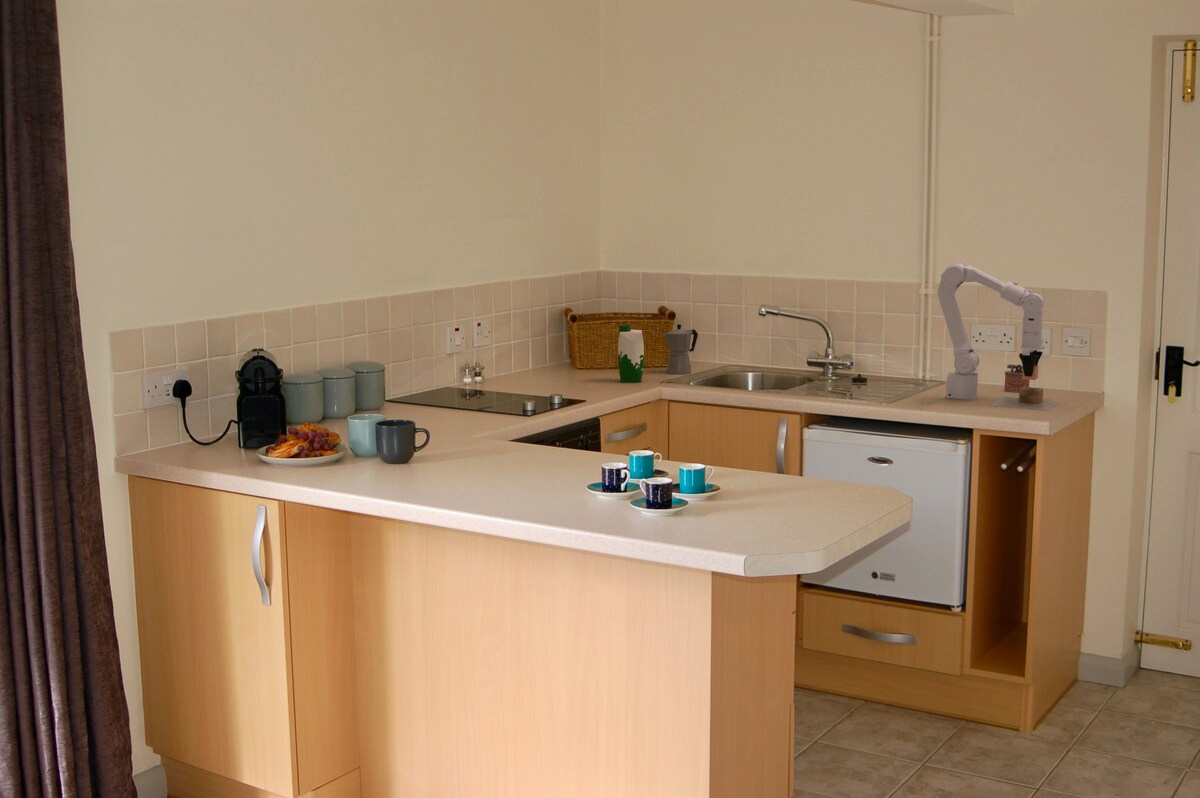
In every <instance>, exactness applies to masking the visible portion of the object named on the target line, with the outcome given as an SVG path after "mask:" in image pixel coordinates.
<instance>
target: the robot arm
mask: <svg viewBox="0 0 1200 798" xmlns="http://www.w3.org/2000/svg"><path fill="white" fill-rule="evenodd" d="M975 282H976V283H978V284H981V285H983V286H985V287H987V288H988V289H989V288H990V289H991V290H994V291H997V292H998V293H999V296H1000V298H1001V299H1003V300H1005V301H1006V302H1009V303H1011V304H1013V305H1015V306H1018V307H1021V308H1022V309H1023V317H1022V330H1021V331H1022V332H1021V333H1022V334H1021V346H1020V349H1021V350H1022V352H1020V353H1019V354H1018V356H1019V359H1020V361H1021V366H1023V369H1022V370H1024V375H1025V376H1029V377H1032V374H1033V370H1034V365H1036V366H1039V362H1040V359H1041V357H1042V356H1043V353H1044V352H1043V351H1040V350H1045V349H1046V346H1042V335H1043V334H1042V332H1043V309H1042V308H1043V307H1044V305H1045V298H1044V297H1043V296H1042V295H1041V294H1040V293H1039V292H1033V289H1027V288H1025V287H1022V286H1021V285H1019V282H1016V281H1013V282H1012V281H1007V282H1004V281H1001V280H999V279H997V278H995V277H994V276H993V275H990V274H988V273H986V272H984V271H982V270H981V269H979V268H977V267H974V266H972V265H967V264H966V263H964V262H956V263H953V264H950V265H947V267H946V268H945V269H944V271H943V272H942V273H941V275H940V281H939V285H938V288H937V294H936V295H937V297H938V301H939V304H940V307H941V311H942V315H943V317H944V320H945V323H946V326H947V329H948V332H949V336H950V339H951V342H952V346H953V355H954V360H953V361H954V363H953V366H954V369H955V370H954V372H948V374H947V375H946V385H945V386H946V387H945V399H956V400H967V401H968V400H976V399H978V385H979V384H978V382H979V371H978V370H977V367H978V366H979V364H980V357H979V355H978V353H977V352H976V351H975V350H974V347H973V346H972V344H971V342H970V340H969V336H968V334H967V329H966V328H965V325H964V321H963V318H962V314H961V311H960V309H959V305H958V302H957V300H956V299H957V297H956V296H955V295H956V293H957V291H958V289H959V288H960V286H961V285H962V284H963V283H975Z"/></svg>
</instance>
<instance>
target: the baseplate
mask: <svg viewBox="0 0 1200 798" xmlns="http://www.w3.org/2000/svg"><path fill="white" fill-rule="evenodd" d="M1060 402H1061V401H1060V400H1051V399H1050V400H1049V399H1043V401H1042V402H1040V403H1039V404H1034V403H1022V402H1019V397H1011V396H1000V397H999V398H998V399H996V400H995V401H994V402H992V403H991V404H988V406H989V407H1000V408H1012V409H1013V408H1014V409H1026V410H1036V411H1038V410H1039V411H1051V409H1053V408H1054V407H1055V406H1056V405H1058V404H1059V403H1060Z"/></svg>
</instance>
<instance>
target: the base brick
mask: <svg viewBox="0 0 1200 798" xmlns="http://www.w3.org/2000/svg"><path fill="white" fill-rule="evenodd" d="M1018 394H1019V395H1018V398H1019V402H1022V403H1034V404H1039V403H1040V402H1042V401H1043V400H1044V388H1042V387H1041V388H1040V387H1030V386H1029V387H1023V388H1021V389H1020V391H1019V392H1018Z"/></svg>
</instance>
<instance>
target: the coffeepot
mask: <svg viewBox="0 0 1200 798" xmlns="http://www.w3.org/2000/svg"><path fill="white" fill-rule="evenodd" d="M676 328H677V329H674V330H669V331H666V332H665V333H664V337H665V338H666V341H667V347H668V351H669V355H668V360H667V366H666V373H667V374H668V375H676V376H677V375H679V376H680V375H689V374H691V373H692V366H691V360H690V355H689V353H690V352H691V353H692V352H694V351H695V348H696V344H697V340H698V338H699V334H698V332H697V331H696V329H694V328H693V329H692V328H691V329H686V330H685V329H682V324H680V323H678V324H676ZM692 335H693V337H692ZM691 339H692V340H691ZM691 341H692V343H691ZM690 346H691V348H690Z"/></svg>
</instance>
